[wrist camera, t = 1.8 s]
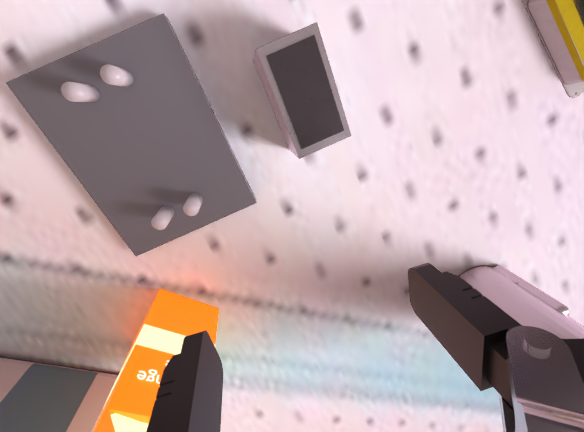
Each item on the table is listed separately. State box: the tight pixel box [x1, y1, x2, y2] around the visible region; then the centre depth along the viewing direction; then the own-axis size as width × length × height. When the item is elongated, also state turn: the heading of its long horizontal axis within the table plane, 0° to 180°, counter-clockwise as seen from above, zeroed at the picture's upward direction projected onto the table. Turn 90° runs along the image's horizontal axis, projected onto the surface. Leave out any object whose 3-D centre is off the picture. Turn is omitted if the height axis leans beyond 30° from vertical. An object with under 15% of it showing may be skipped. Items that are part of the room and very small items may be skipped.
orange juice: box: [93, 289, 219, 432], centre depth 27 cm, size 8×9×20 cm
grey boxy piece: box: [253, 22, 351, 159], centre depth 26 cm, size 5×9×6 cm, turn 22°
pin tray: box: [6, 14, 256, 256], centre depth 26 cm, size 14×18×4 cm
